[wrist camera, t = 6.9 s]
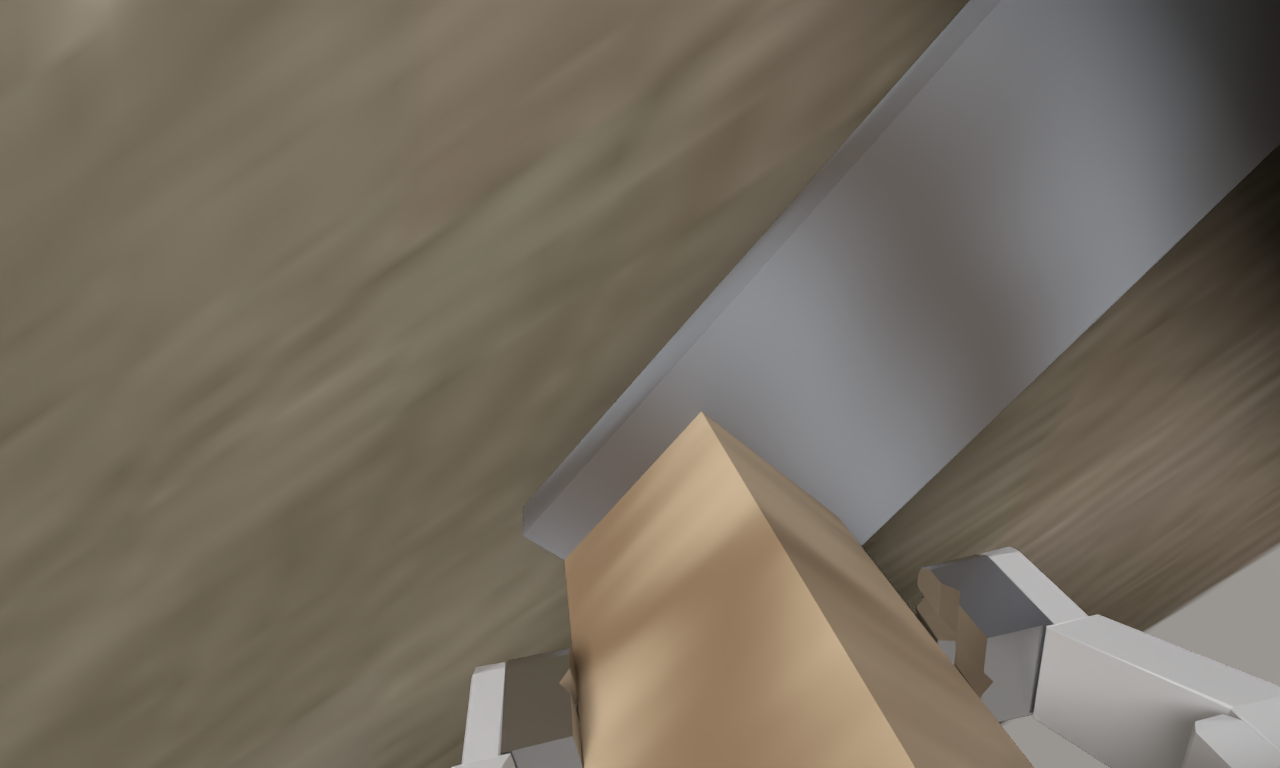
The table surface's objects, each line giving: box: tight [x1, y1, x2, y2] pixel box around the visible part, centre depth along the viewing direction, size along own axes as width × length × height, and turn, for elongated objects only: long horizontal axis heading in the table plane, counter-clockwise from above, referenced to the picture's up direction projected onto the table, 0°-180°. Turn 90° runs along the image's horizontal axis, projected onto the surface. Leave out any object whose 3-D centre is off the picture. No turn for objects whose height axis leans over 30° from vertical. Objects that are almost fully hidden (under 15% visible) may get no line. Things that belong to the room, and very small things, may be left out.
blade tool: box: [523, 0, 1280, 768], centre depth 9 cm, size 16×6×9 cm, turn 139°
